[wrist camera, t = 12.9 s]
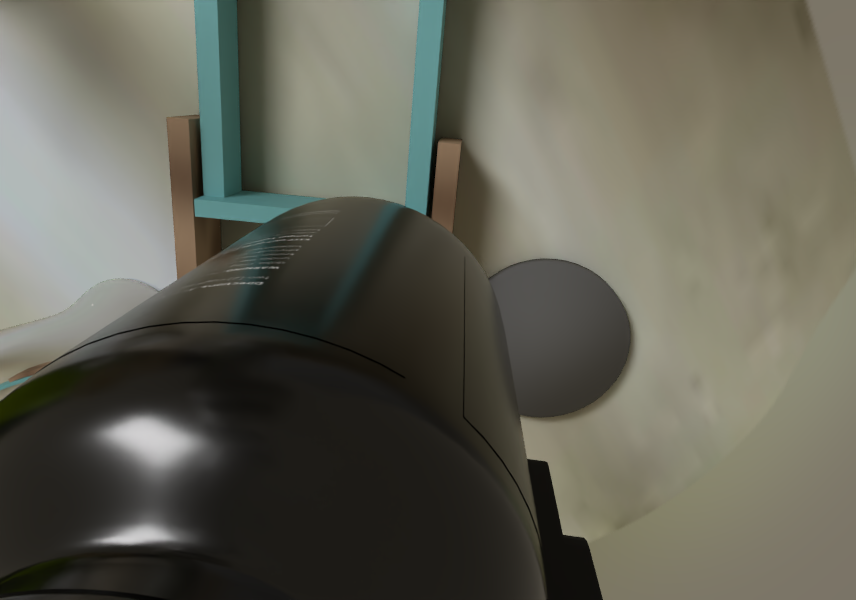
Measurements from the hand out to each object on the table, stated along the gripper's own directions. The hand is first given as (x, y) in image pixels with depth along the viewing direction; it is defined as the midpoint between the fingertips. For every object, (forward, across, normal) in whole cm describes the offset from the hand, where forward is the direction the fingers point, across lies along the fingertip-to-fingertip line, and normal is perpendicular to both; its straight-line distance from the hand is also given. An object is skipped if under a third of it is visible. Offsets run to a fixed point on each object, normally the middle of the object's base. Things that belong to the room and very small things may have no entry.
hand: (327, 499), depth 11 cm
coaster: (+20, -7, +4) cm, 22 cm away
